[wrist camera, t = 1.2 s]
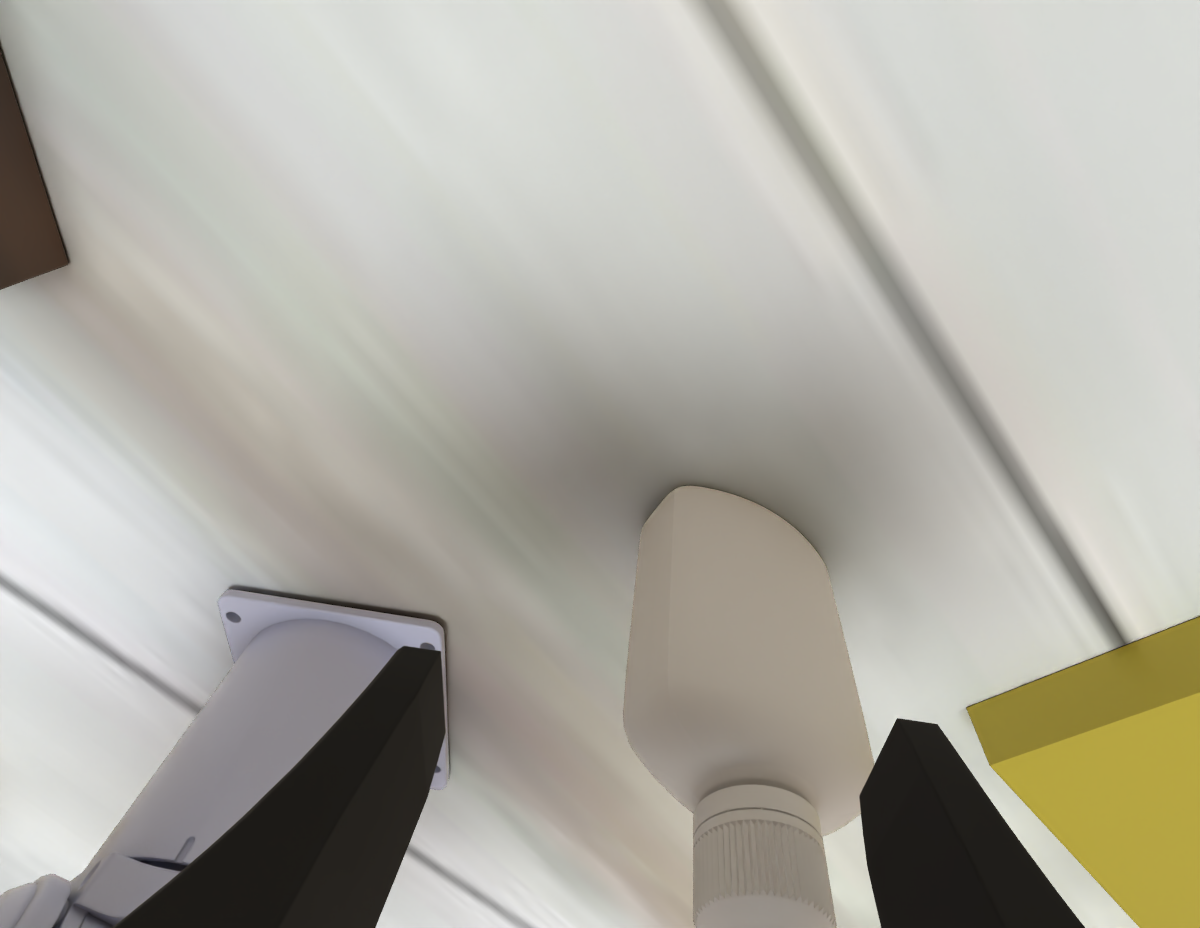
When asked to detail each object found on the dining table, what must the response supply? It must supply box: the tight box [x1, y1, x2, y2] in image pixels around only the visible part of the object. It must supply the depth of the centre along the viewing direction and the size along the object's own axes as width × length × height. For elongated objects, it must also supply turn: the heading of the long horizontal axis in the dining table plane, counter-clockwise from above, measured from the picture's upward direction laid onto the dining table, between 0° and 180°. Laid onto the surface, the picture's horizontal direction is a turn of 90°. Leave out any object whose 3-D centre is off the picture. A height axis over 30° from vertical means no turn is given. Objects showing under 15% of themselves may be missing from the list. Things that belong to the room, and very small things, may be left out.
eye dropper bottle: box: [623, 486, 874, 928], centre depth 16 cm, size 4×6×12 cm
